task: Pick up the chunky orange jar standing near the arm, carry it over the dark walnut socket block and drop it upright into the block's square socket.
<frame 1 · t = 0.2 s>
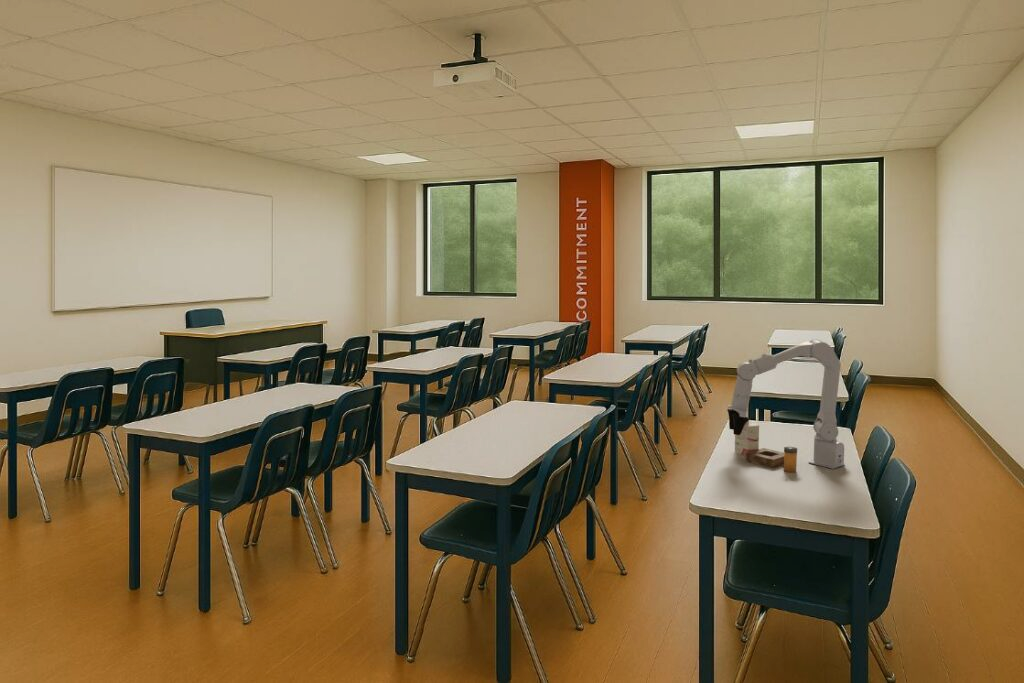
hand: (734, 431, 257), 11 cm above the table, tool pointing down, fingers open, 7 cm apart
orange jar: (789, 470, 245), on the table
socket block: (768, 461, 256), on the table
ink cartridge box: (746, 454, 267), on the table
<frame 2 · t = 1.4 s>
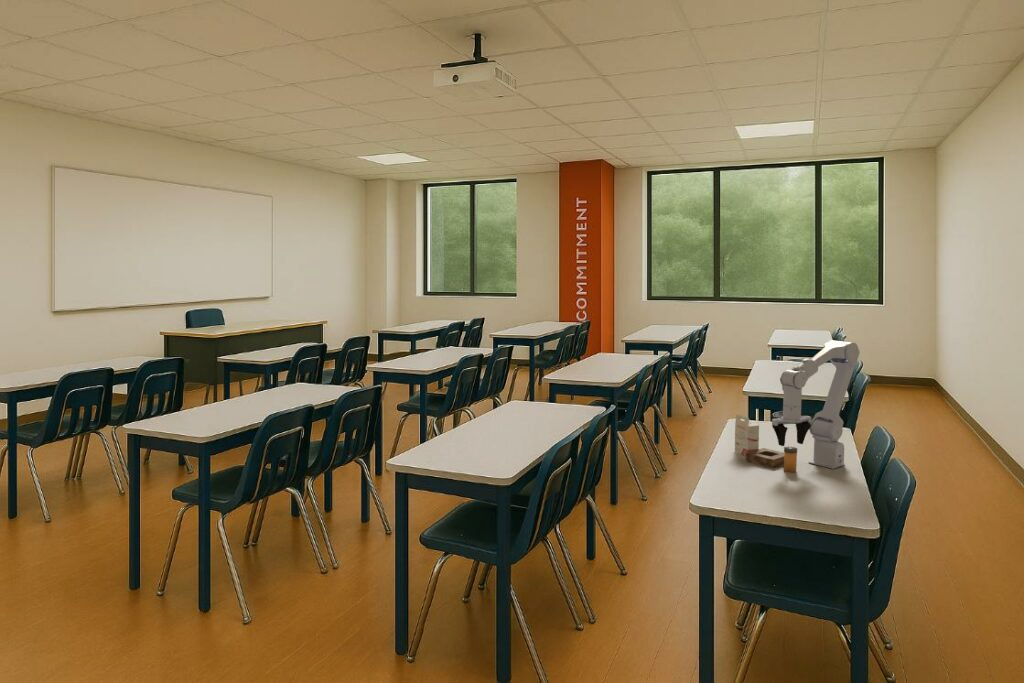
hand: (790, 444, 244), 9 cm above the table, tool pointing down, fingers open, 7 cm apart
nothing on the table moved.
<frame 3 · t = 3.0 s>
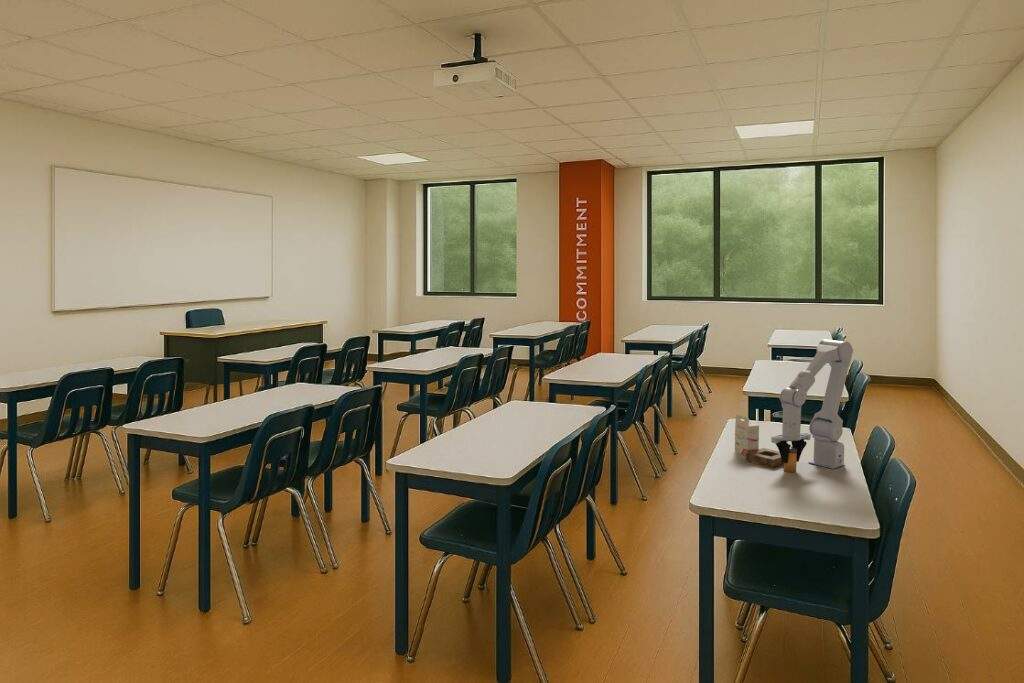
hand: (790, 461, 245), 3 cm above the table, tool pointing down, fingers closed on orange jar, 4 cm apart
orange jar: (789, 470, 245), on the table, touching gripper
everything else where it was.
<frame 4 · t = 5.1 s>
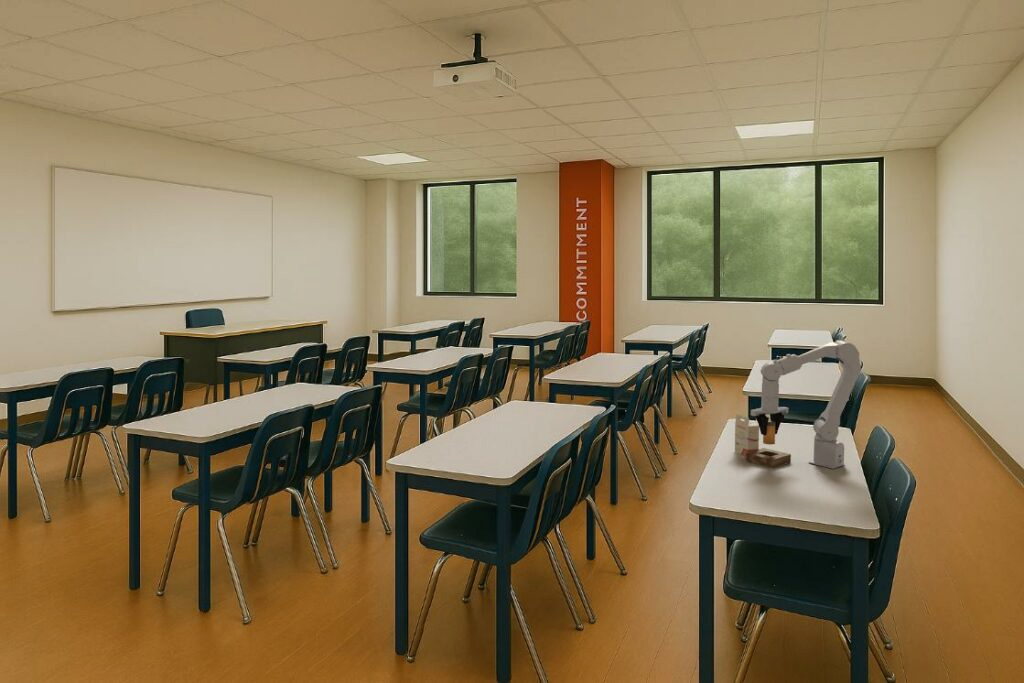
hand: (768, 434, 255), 10 cm above the table, tool pointing down, fingers closed on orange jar, 4 cm apart
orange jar: (769, 443, 255), point 7 cm above the table, touching gripper
everything else where it was.
when the fingers open (4 cm above the table, at t = 7.6 s): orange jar stays where it is, resting on socket block.
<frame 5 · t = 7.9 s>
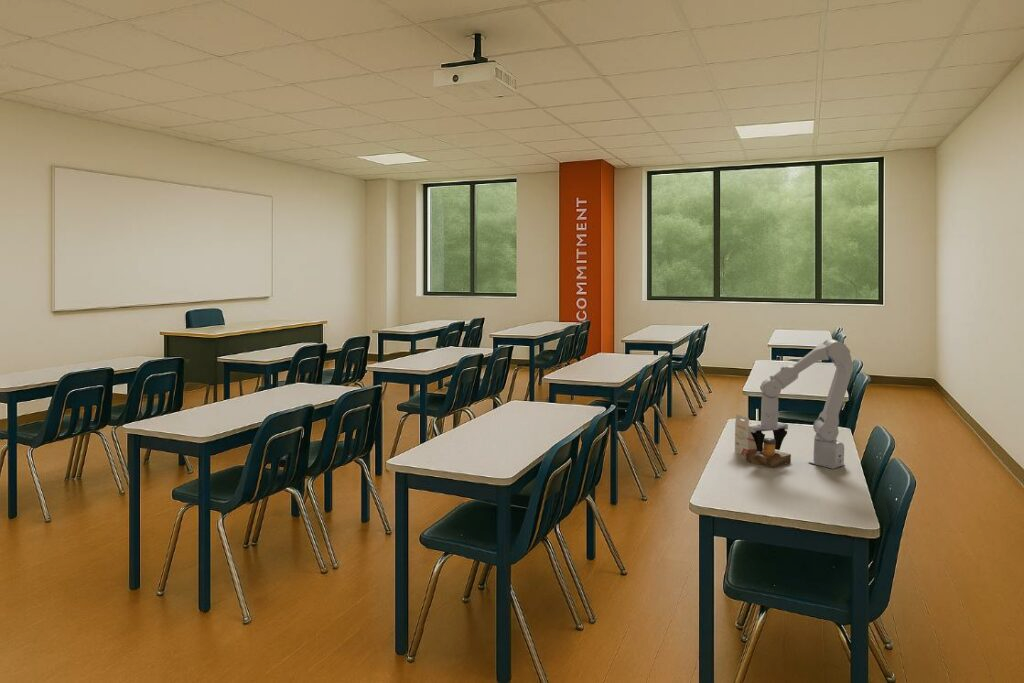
hand: (768, 450, 256), 4 cm above the table, tool pointing down, fingers open, 7 cm apart
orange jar: (768, 461, 256), resting on socket block
everything else where it was.
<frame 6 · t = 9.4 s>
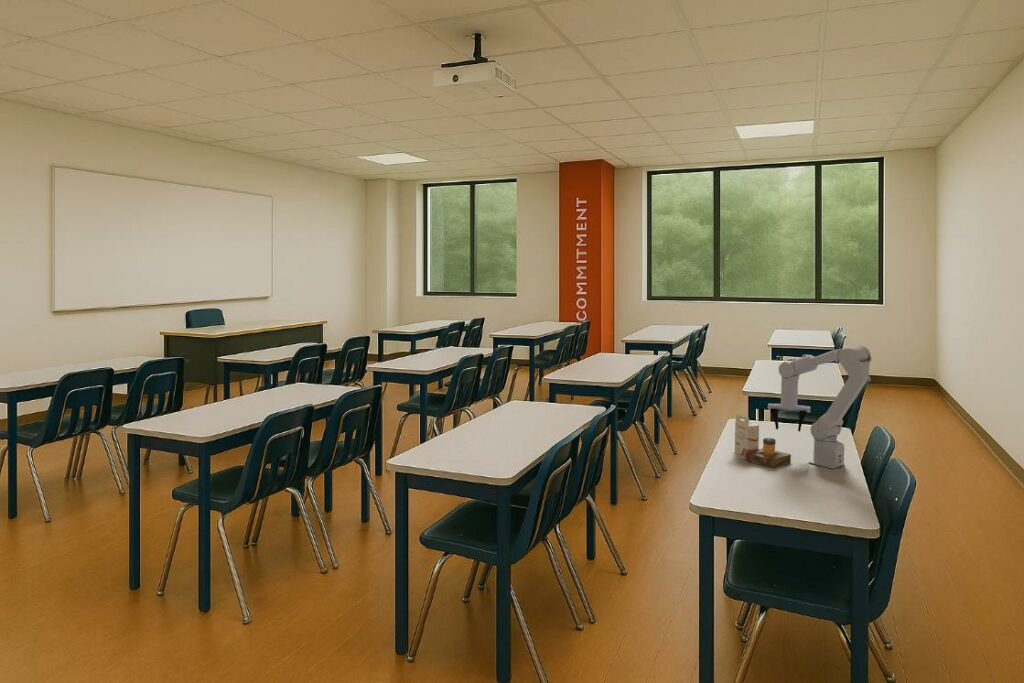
hand: (788, 429, 264), 9 cm above the table, tool pointing down, fingers open, 7 cm apart
nothing on the table moved.
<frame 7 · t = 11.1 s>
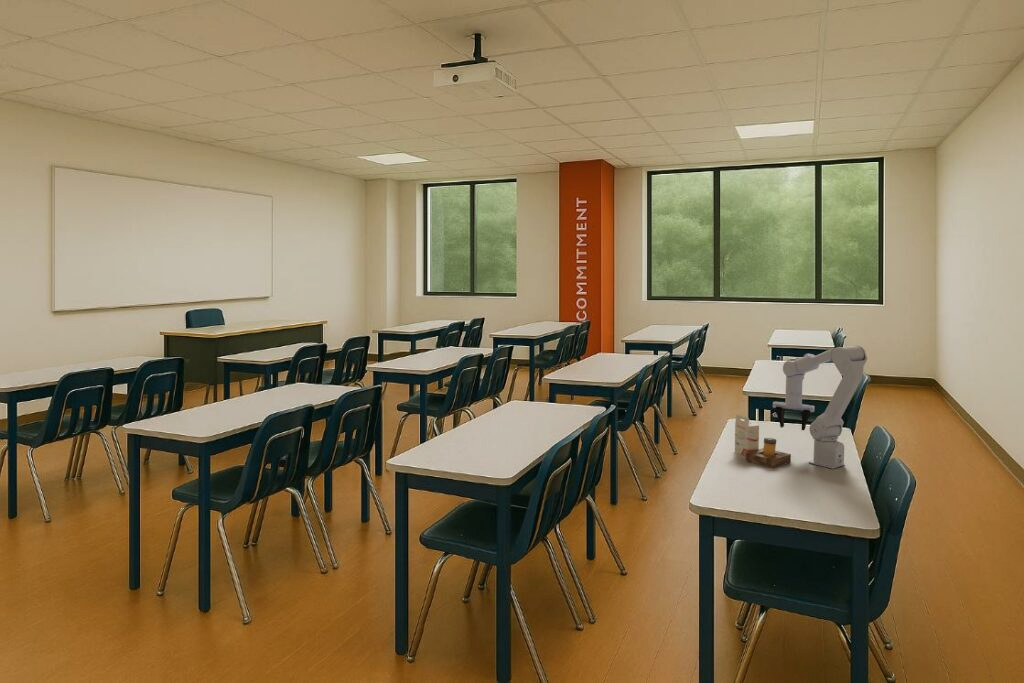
hand: (792, 428, 266), 9 cm above the table, tool pointing down, fingers open, 7 cm apart
nothing on the table moved.
at the end: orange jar 0.2 cm off-centre on the socket block, point 0.3 cm above the socket block's base; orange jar tilted 3°; the gripper is holding nothing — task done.
